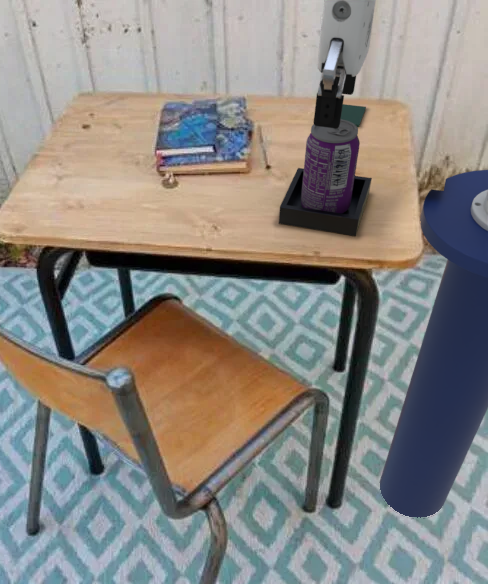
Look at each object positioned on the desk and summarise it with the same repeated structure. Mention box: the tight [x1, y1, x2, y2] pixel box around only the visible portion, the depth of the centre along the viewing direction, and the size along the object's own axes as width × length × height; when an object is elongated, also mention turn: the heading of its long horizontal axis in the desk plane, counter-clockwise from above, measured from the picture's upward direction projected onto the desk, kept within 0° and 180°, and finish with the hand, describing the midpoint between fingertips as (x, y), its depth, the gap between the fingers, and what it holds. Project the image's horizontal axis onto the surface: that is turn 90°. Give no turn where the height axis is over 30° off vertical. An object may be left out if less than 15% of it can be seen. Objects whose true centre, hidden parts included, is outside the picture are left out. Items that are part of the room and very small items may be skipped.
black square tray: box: [278, 167, 373, 237], centre depth 94 cm, size 11×11×3 cm
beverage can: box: [301, 119, 361, 214], centre depth 90 cm, size 7×7×12 cm
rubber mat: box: [341, 103, 367, 128], centre depth 114 cm, size 7×7×1 cm
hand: (334, 108), depth 84 cm, fingers open, 9 cm apart
